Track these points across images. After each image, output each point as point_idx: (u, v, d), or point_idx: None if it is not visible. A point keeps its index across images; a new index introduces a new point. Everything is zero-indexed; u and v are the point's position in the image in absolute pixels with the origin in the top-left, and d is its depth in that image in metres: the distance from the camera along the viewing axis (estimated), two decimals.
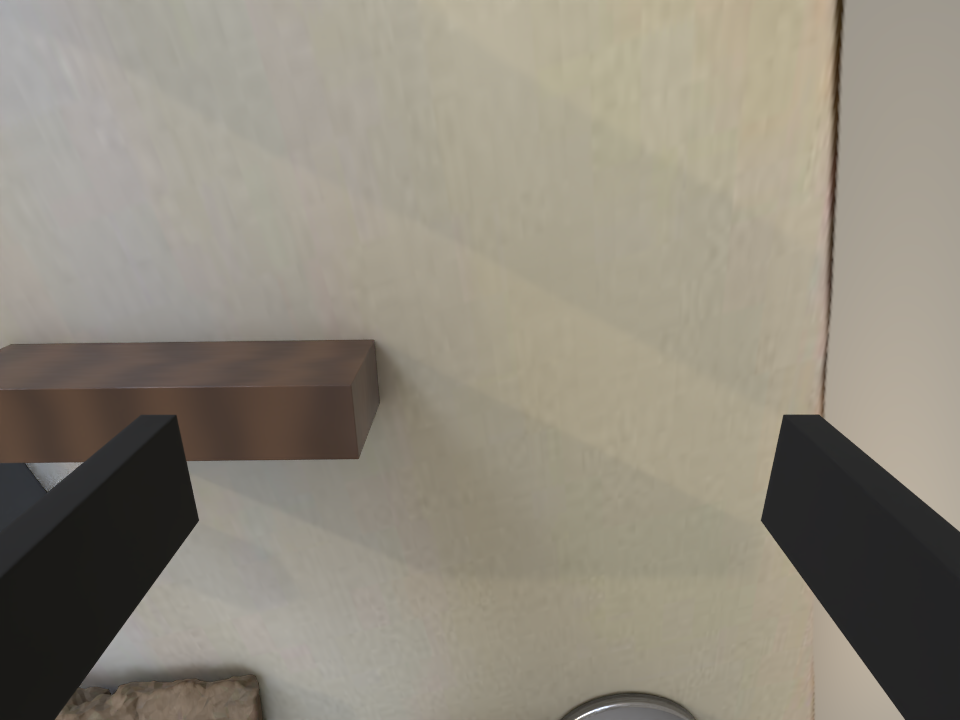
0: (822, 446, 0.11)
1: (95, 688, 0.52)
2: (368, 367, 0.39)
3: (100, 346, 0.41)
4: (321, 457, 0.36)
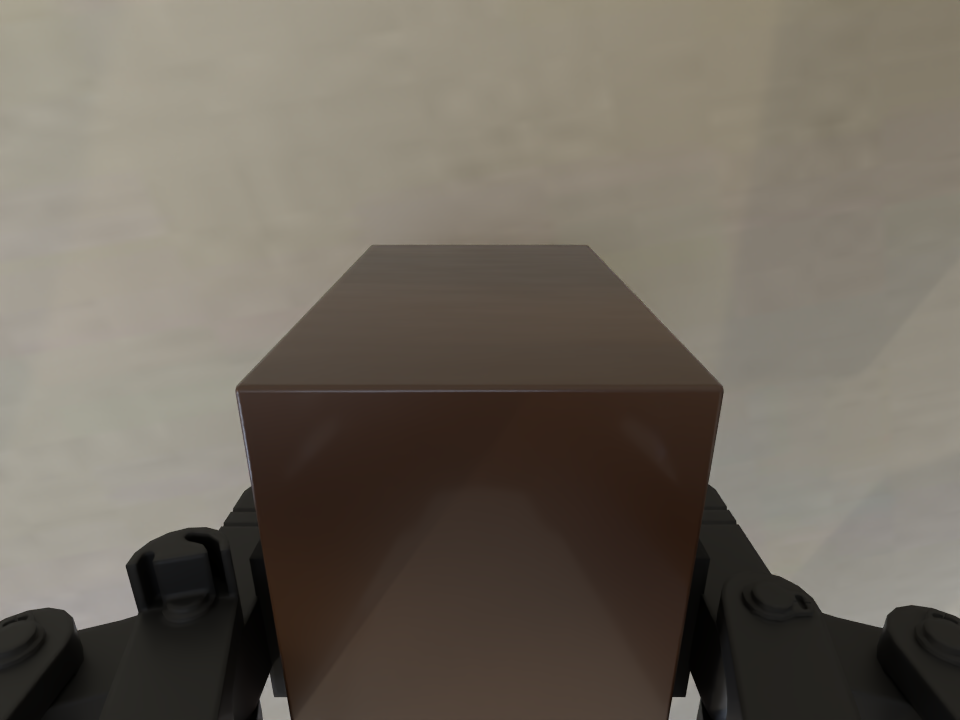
0: None
1: None
2: (396, 272, 0.11)
3: None
4: (681, 568, 0.07)
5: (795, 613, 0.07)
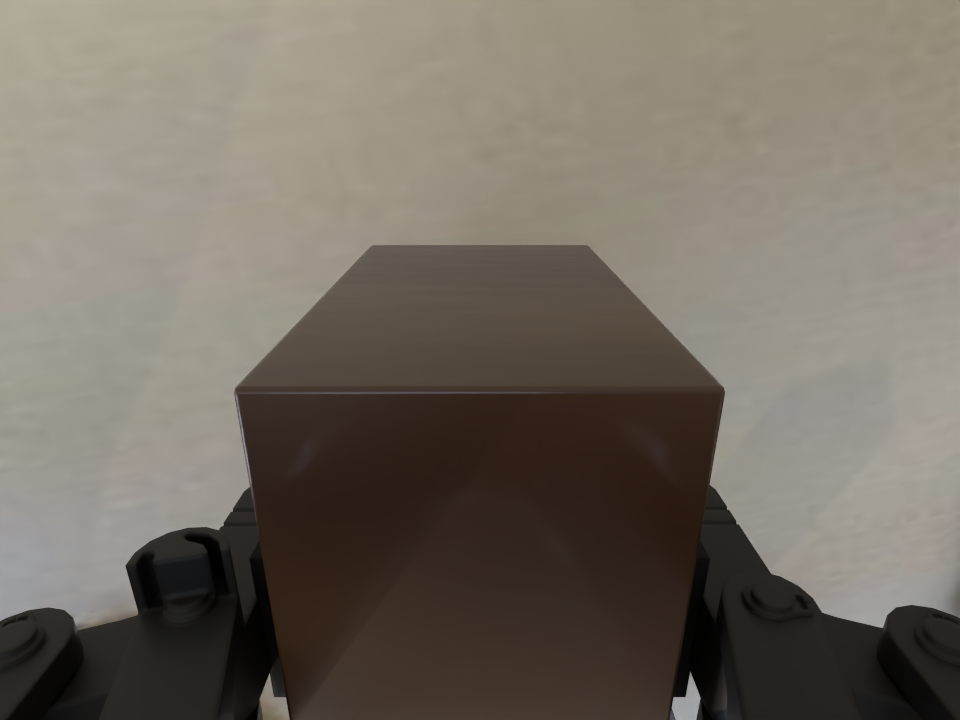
0: None
1: None
2: (395, 273, 0.11)
3: None
4: (682, 570, 0.07)
5: (795, 613, 0.07)
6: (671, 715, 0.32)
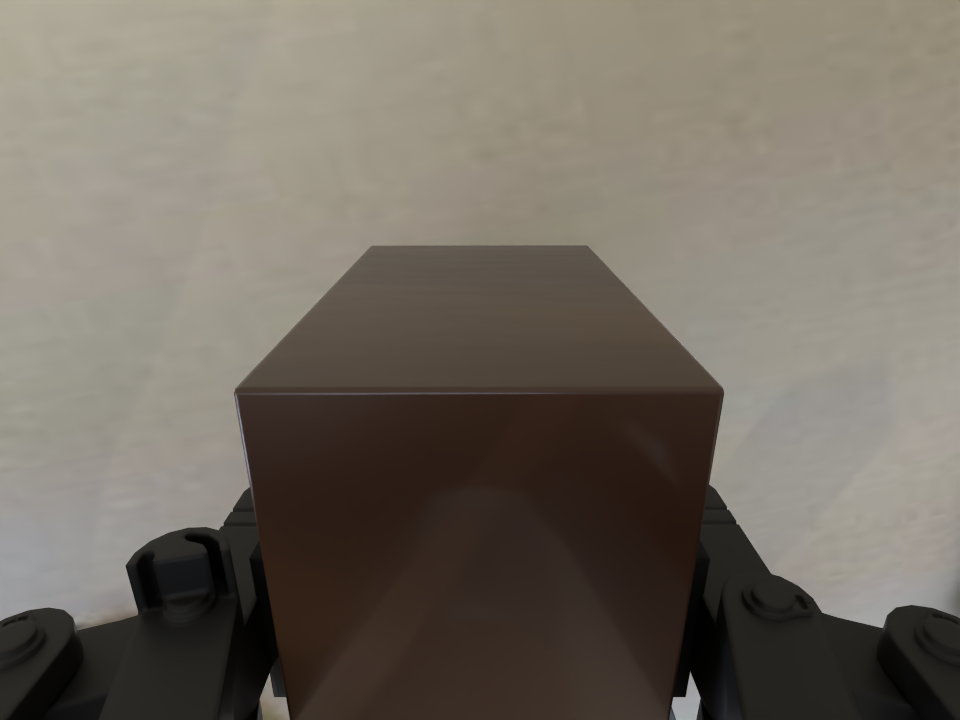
0: None
1: None
2: (395, 273, 0.11)
3: None
4: (682, 570, 0.07)
5: (796, 613, 0.07)
6: (671, 715, 0.32)
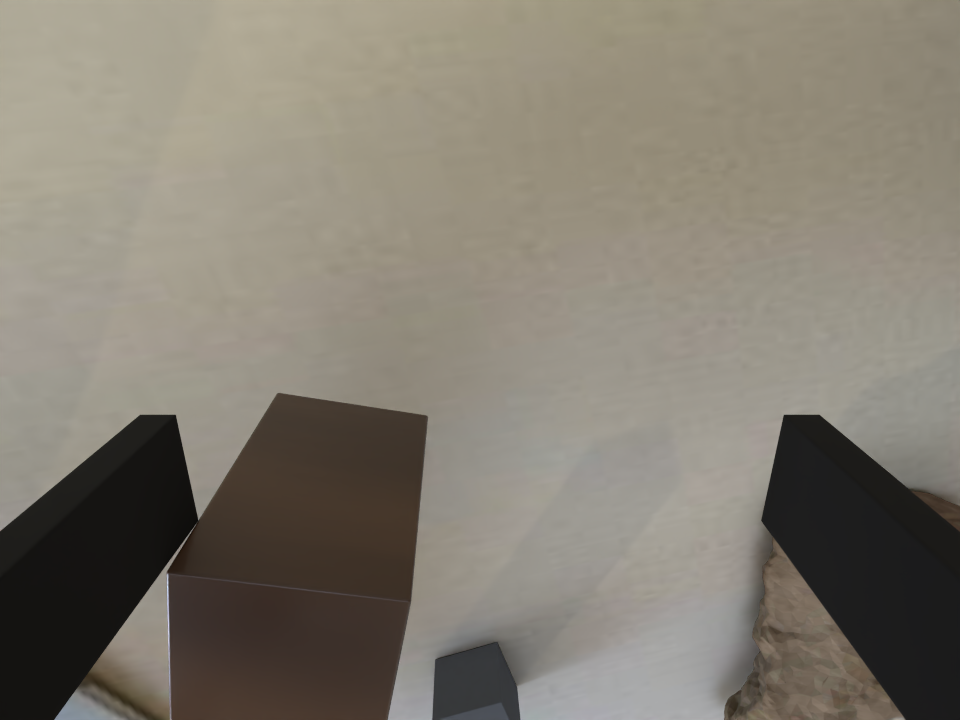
0: (822, 446, 0.11)
1: (756, 659, 0.44)
2: (283, 443, 0.16)
3: None
4: (389, 674, 0.13)
5: None
6: (503, 710, 0.39)
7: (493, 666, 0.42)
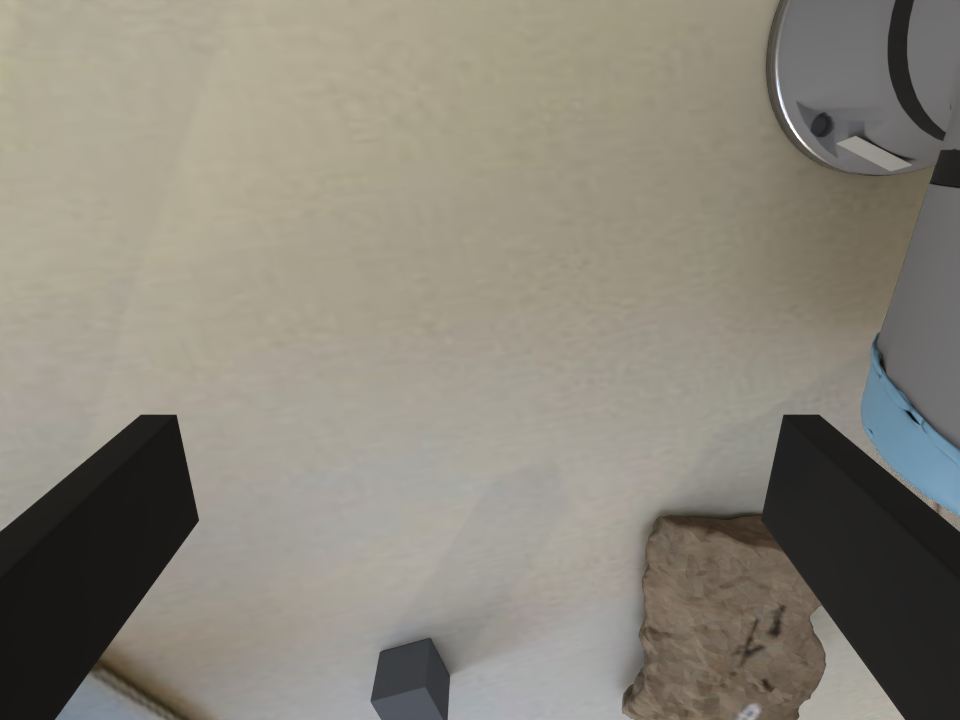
0: (821, 445, 0.11)
1: None
2: None
3: None
4: None
5: None
6: (428, 694, 0.48)
7: (424, 658, 0.51)
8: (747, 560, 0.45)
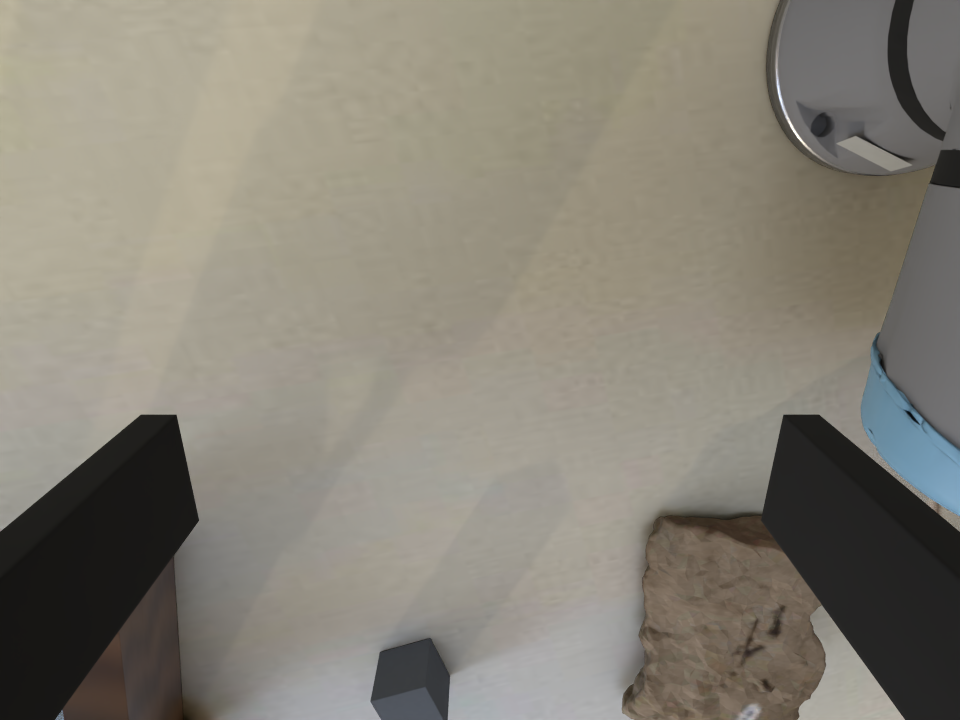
0: (821, 445, 0.11)
1: None
2: None
3: None
4: None
5: None
6: (428, 694, 0.48)
7: (424, 658, 0.51)
8: (747, 560, 0.45)
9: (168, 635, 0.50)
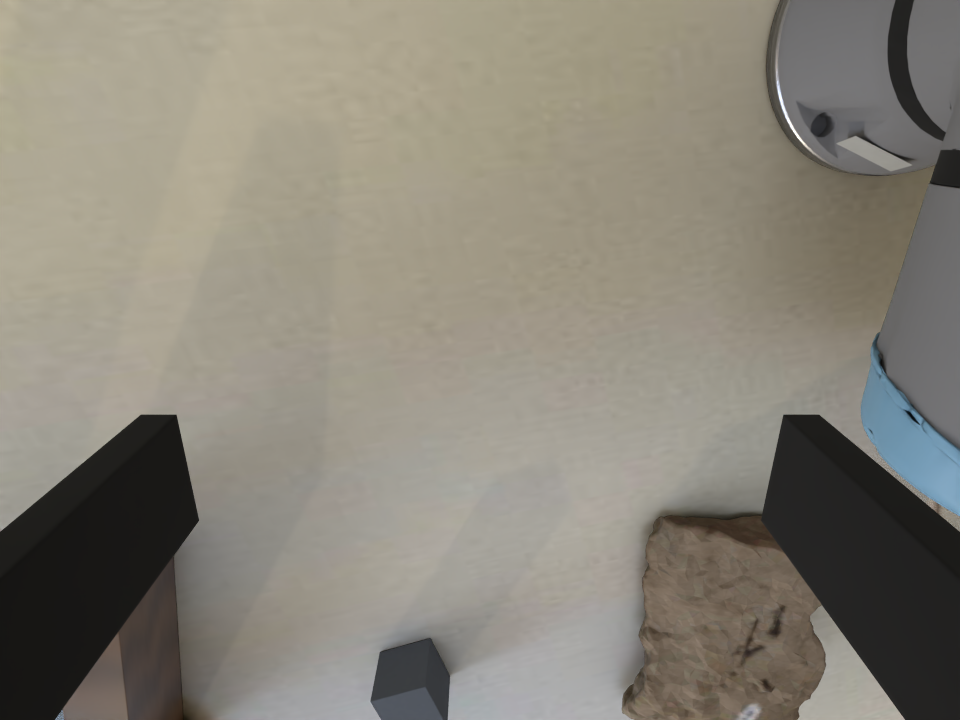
0: (821, 445, 0.11)
1: None
2: None
3: None
4: None
5: None
6: (428, 694, 0.48)
7: (424, 658, 0.51)
8: (747, 560, 0.45)
9: (168, 635, 0.50)
